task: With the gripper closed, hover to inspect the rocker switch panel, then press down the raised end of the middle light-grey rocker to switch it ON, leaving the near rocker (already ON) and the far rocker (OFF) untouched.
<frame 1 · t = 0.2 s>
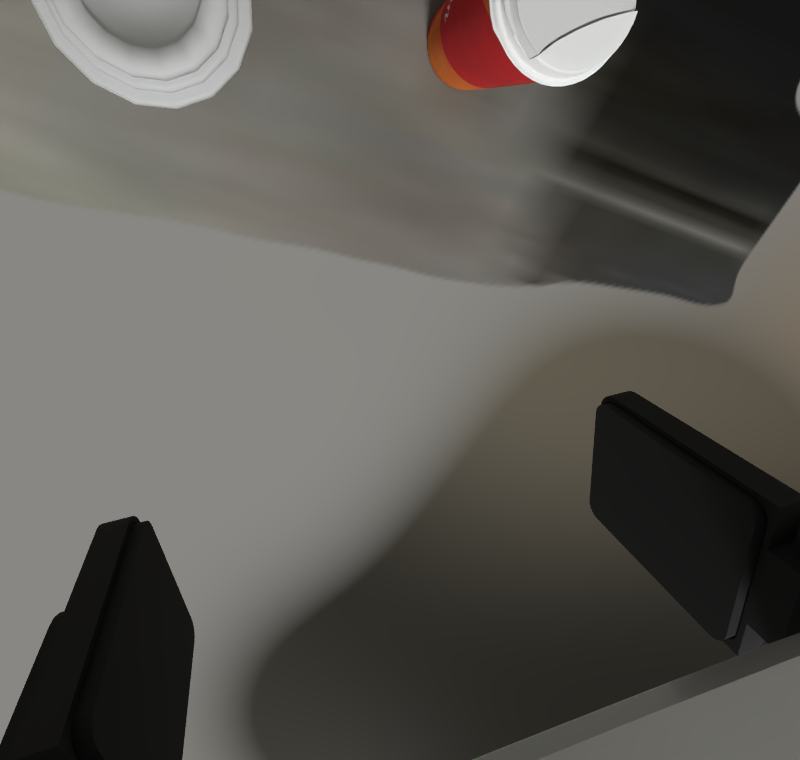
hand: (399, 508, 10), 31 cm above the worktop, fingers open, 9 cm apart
coffee cup: (173, 38, 31), on the worktop
paper cup: (462, 45, 35), on the worktop
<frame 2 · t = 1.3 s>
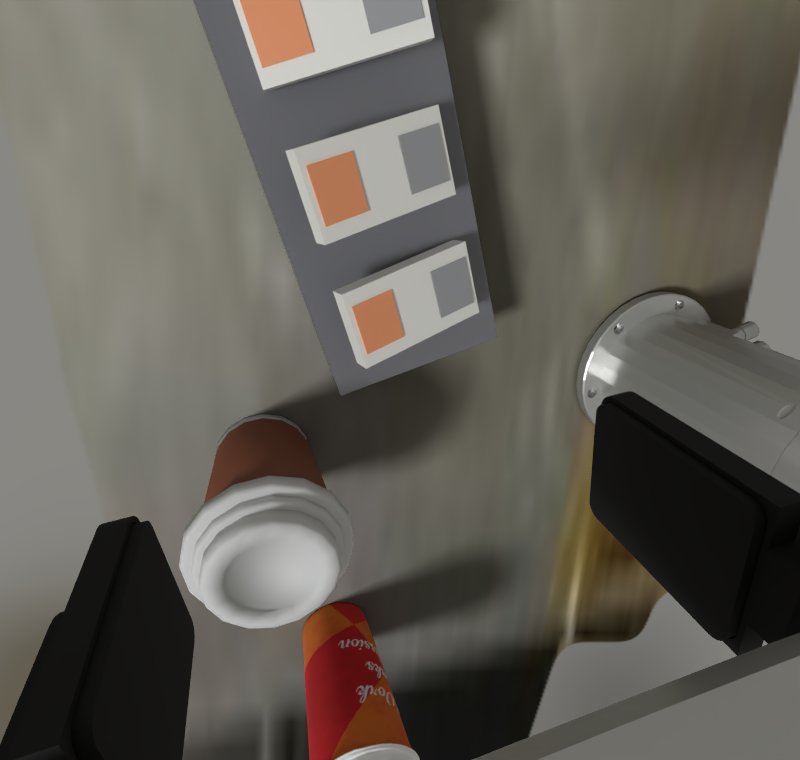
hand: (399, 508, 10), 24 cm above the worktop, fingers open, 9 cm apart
rocker middle: (377, 174, 25), point 5 cm above the worktop, hinge at -14.0°
rocker switch panel: (355, 170, 30), on the worktop
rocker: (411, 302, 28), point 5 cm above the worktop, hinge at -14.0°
coffee cup: (263, 452, 36), on the worktop
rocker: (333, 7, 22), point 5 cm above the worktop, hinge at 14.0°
paper cup: (333, 623, 45), on the worktop
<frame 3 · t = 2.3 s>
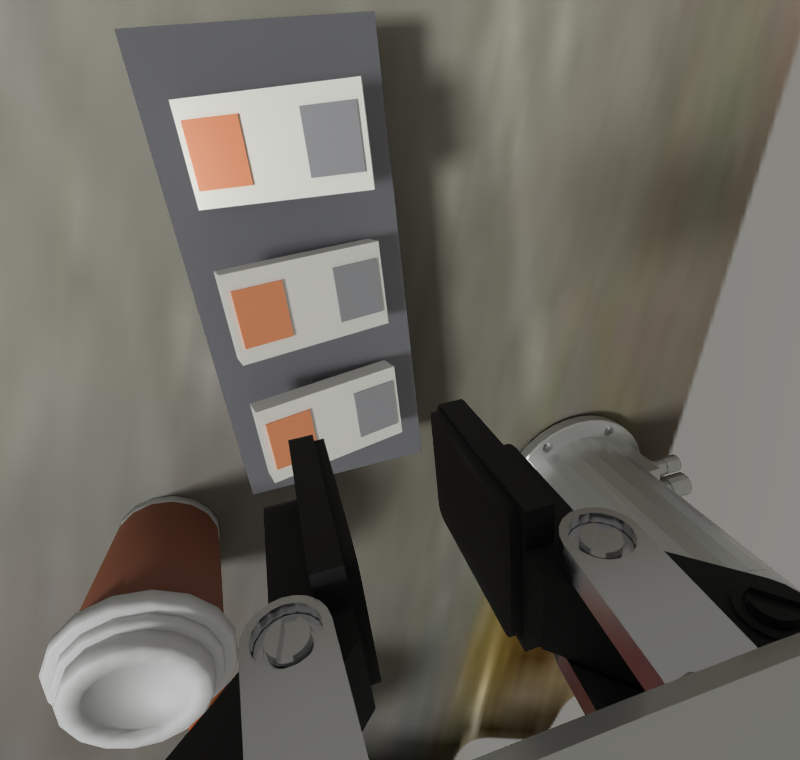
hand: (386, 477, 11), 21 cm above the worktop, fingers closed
rocker middle: (308, 299, 25), point 5 cm above the worktop, hinge at -14.0°
rocker switch panel: (298, 276, 30), on the worktop
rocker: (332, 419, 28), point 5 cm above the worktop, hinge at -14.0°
coffee cup: (170, 532, 35), on the worktop
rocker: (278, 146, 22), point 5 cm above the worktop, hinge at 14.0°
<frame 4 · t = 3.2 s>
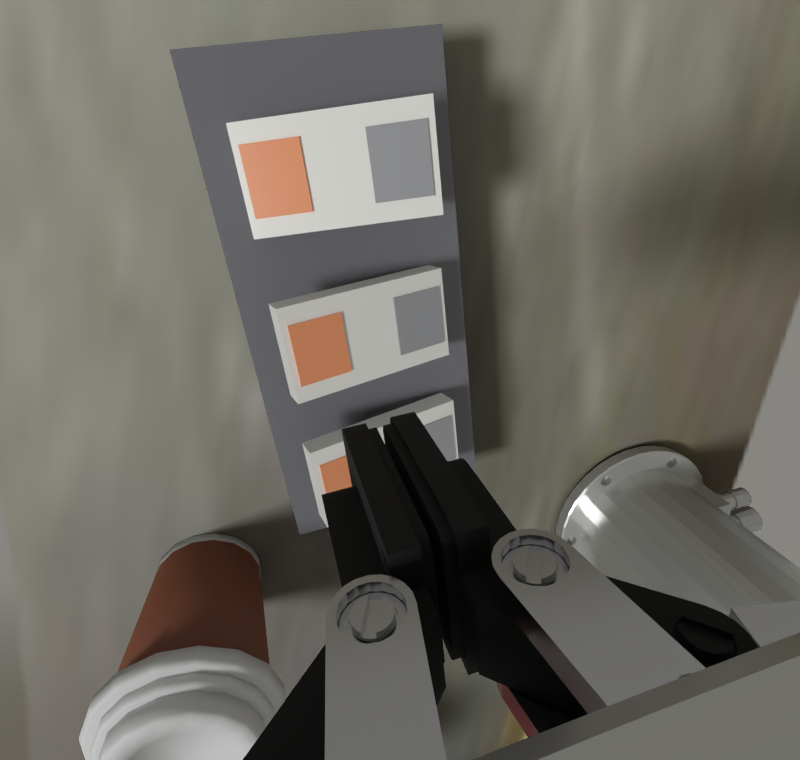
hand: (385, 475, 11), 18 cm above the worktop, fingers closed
rocker middle: (366, 331, 23), point 5 cm above the worktop, hinge at -14.0°
rocker switch panel: (348, 303, 28), on the worktop
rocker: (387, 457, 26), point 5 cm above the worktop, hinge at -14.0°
coffee cup: (210, 571, 33), on the worktop
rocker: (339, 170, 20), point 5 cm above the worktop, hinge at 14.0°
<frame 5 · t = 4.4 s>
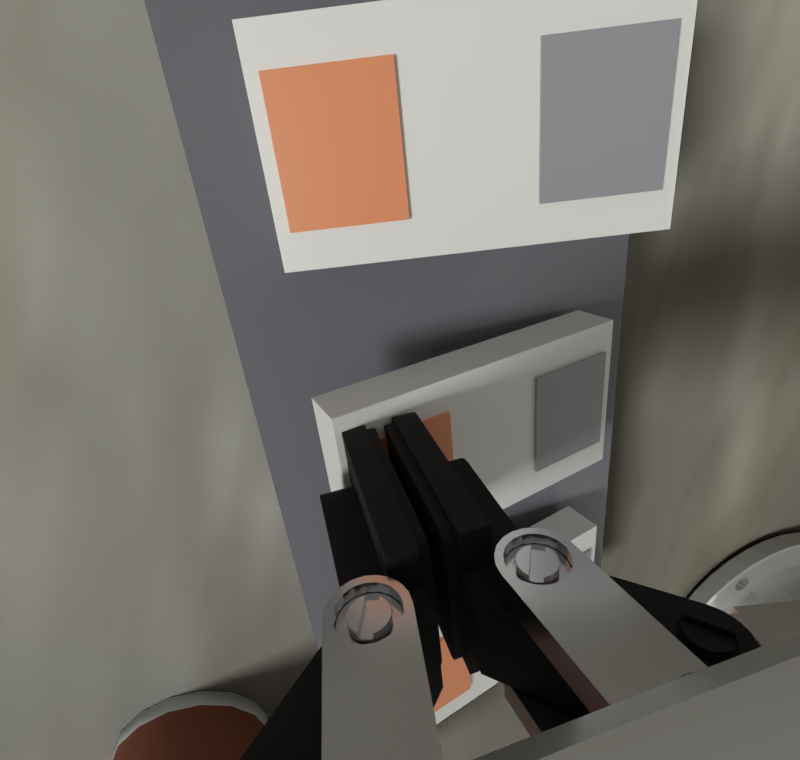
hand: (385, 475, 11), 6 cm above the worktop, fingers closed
rocker middle: (481, 434, 13), point 5 cm above the worktop, hinge at -13.7°, touching gripper
rocker switch panel: (418, 359, 18), on the worktop
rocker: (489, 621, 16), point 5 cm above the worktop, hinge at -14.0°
coffee cup: (195, 737, 22), on the worktop
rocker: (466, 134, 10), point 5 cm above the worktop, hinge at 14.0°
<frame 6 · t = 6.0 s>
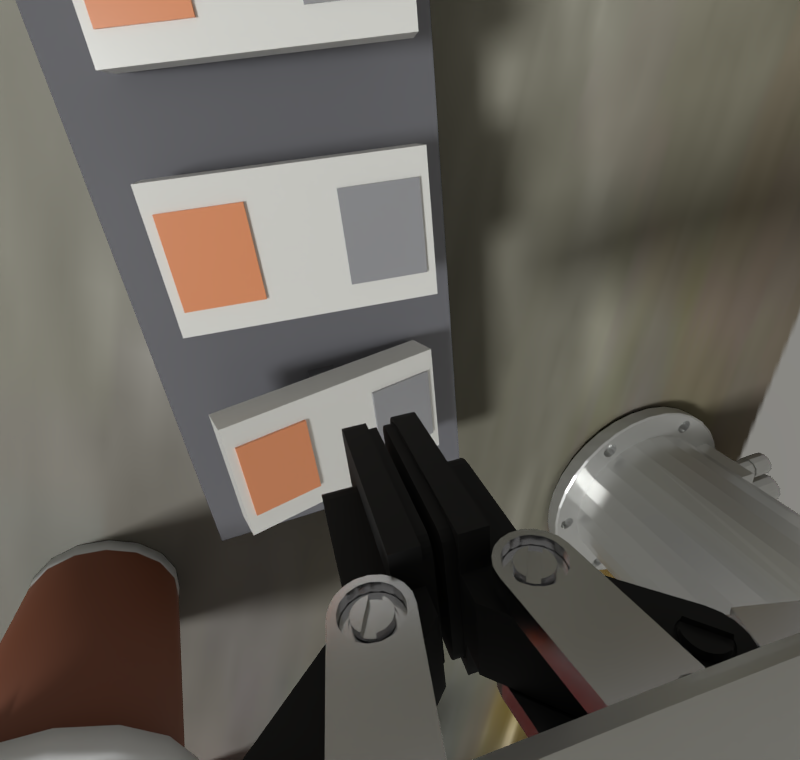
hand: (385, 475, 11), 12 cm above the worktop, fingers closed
rocker middle: (299, 241, 15), point 5 cm above the worktop, hinge at 6.6°
rocker switch panel: (279, 215, 20), on the worktop
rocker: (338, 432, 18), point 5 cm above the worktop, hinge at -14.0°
coffee cup: (108, 588, 25), on the worktop
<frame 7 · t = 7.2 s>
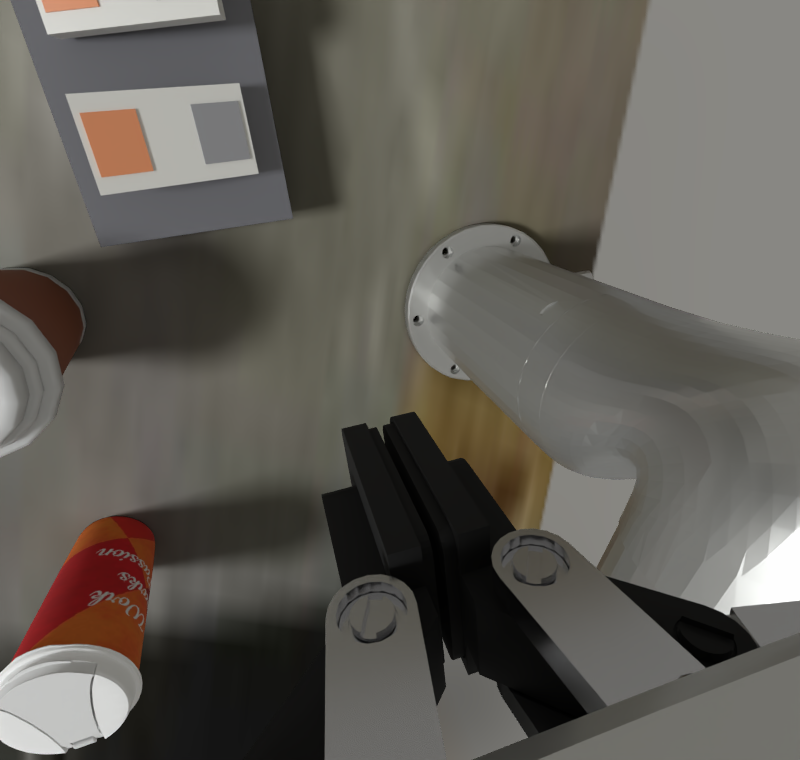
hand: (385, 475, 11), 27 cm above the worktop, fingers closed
rocker switch panel: (143, 0, 28), on the worktop
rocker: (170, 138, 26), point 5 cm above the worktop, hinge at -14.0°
coffee cup: (30, 316, 32), on the worktop
paper cup: (117, 541, 40), on the worktop
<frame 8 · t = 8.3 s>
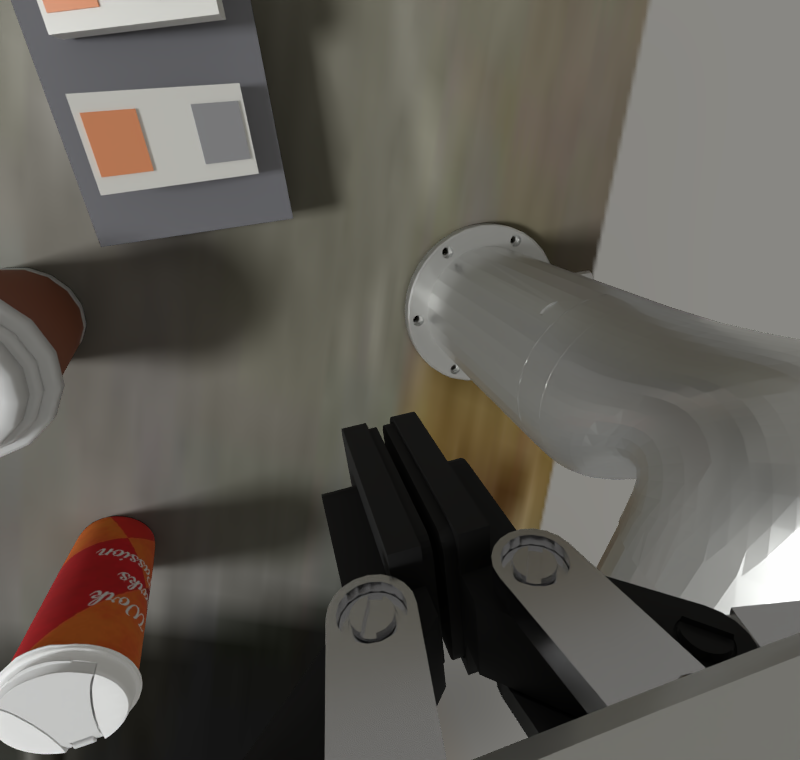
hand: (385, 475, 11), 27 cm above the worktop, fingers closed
rocker switch panel: (144, 0, 28), on the worktop
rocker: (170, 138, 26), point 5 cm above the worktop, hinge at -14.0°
coffee cup: (30, 316, 32), on the worktop
paper cup: (117, 541, 40), on the worktop
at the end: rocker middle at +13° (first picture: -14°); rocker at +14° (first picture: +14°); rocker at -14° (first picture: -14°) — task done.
